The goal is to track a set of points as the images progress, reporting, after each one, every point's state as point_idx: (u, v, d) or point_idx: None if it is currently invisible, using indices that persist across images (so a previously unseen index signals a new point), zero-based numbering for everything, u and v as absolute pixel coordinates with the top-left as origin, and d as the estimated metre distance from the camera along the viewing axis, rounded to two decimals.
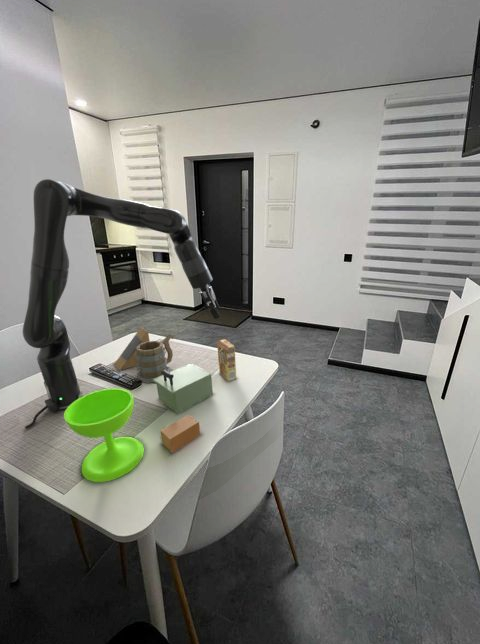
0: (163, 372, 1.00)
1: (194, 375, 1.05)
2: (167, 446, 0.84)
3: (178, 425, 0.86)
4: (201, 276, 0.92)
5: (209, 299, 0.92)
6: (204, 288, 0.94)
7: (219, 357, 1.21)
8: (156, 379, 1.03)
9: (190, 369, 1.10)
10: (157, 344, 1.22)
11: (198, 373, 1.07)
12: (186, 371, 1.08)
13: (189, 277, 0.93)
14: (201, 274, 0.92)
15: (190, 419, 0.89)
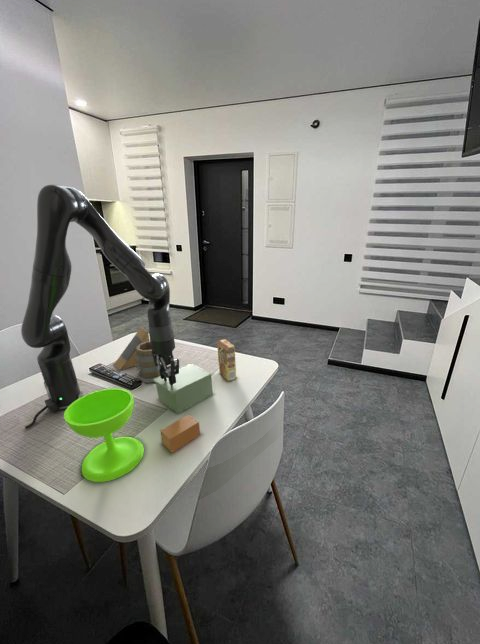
0: (163, 372, 1.00)
1: (194, 375, 1.05)
2: (167, 446, 0.84)
3: (178, 425, 0.86)
4: (171, 342, 0.93)
5: (177, 367, 0.94)
6: (171, 354, 0.94)
7: (219, 357, 1.21)
8: (156, 379, 1.03)
9: (190, 369, 1.10)
10: None
11: (198, 373, 1.07)
12: (186, 371, 1.08)
13: (158, 342, 0.91)
14: (171, 340, 0.93)
15: (190, 419, 0.89)
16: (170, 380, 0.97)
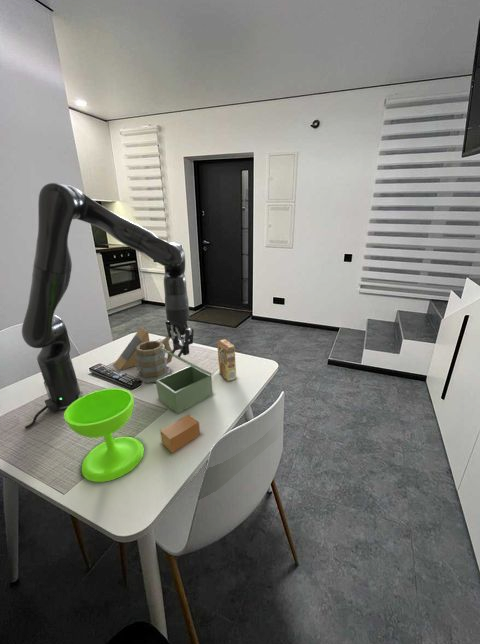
0: (177, 343, 1.01)
1: None
2: (167, 446, 0.84)
3: (178, 425, 0.86)
4: (186, 311, 0.95)
5: (191, 337, 0.96)
6: (185, 323, 0.95)
7: (219, 357, 1.21)
8: None
9: None
10: (157, 344, 1.22)
11: None
12: None
13: (174, 310, 0.92)
14: (186, 310, 0.95)
15: (190, 419, 0.89)
16: (184, 350, 0.98)
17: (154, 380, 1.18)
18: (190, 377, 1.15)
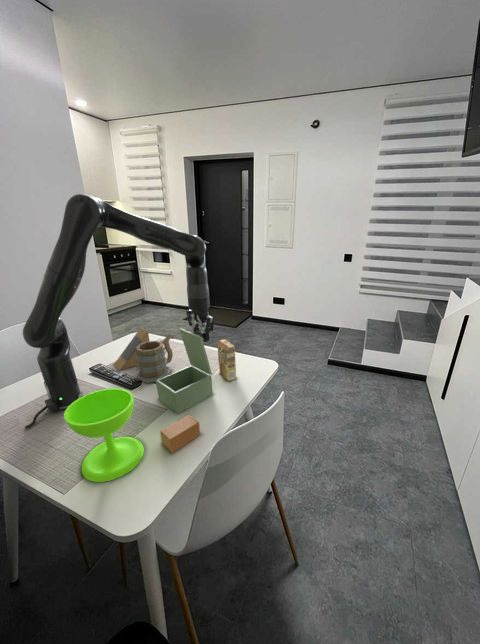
0: None
1: None
2: (167, 446, 0.84)
3: (178, 425, 0.86)
4: (207, 300, 1.00)
5: (212, 324, 1.01)
6: (206, 311, 1.01)
7: (219, 357, 1.21)
8: None
9: None
10: (157, 344, 1.22)
11: None
12: None
13: (196, 299, 0.98)
14: (207, 298, 1.00)
15: (190, 419, 0.89)
16: (204, 337, 1.04)
17: (154, 380, 1.18)
18: (190, 377, 1.15)
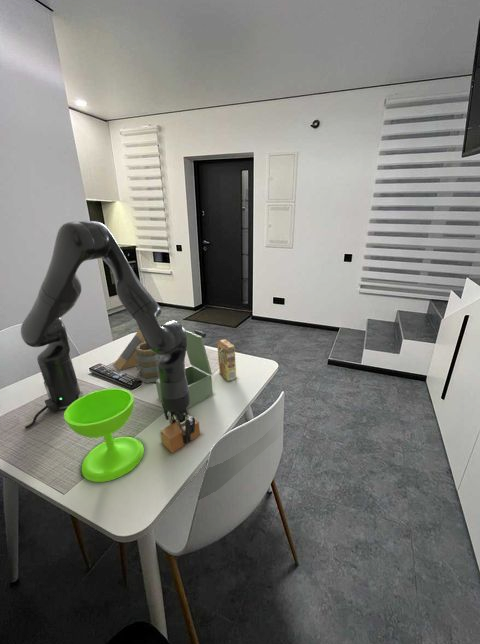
0: None
1: None
2: (167, 446, 0.84)
3: None
4: (185, 397, 0.80)
5: (193, 426, 0.81)
6: (185, 411, 0.81)
7: (219, 357, 1.21)
8: None
9: None
10: None
11: None
12: None
13: (171, 399, 0.78)
14: (186, 396, 0.80)
15: None
16: (184, 439, 0.84)
17: (154, 380, 1.18)
18: (190, 377, 1.15)
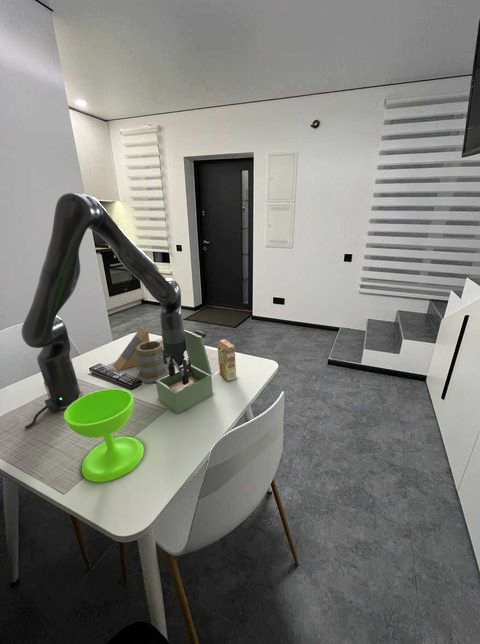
0: None
1: None
2: None
3: None
4: (182, 344, 0.97)
5: (189, 366, 0.97)
6: (182, 355, 0.98)
7: (219, 357, 1.21)
8: None
9: None
10: (157, 344, 1.22)
11: None
12: None
13: (171, 344, 0.95)
14: (183, 342, 0.97)
15: (193, 379, 1.09)
16: (183, 380, 1.00)
17: (154, 380, 1.18)
18: None
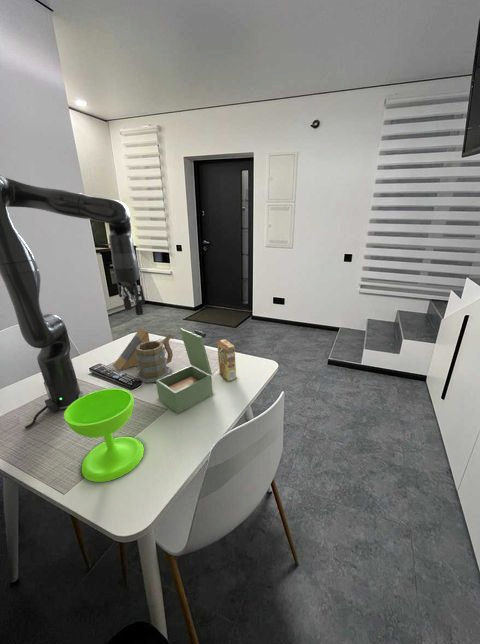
0: None
1: None
2: None
3: (182, 383, 1.06)
4: (134, 270, 0.95)
5: (141, 294, 0.95)
6: (134, 283, 0.95)
7: (219, 357, 1.21)
8: None
9: None
10: (157, 344, 1.22)
11: None
12: None
13: (121, 269, 0.92)
14: (135, 269, 0.95)
15: (193, 379, 1.09)
16: (136, 310, 0.97)
17: (154, 380, 1.18)
18: None
